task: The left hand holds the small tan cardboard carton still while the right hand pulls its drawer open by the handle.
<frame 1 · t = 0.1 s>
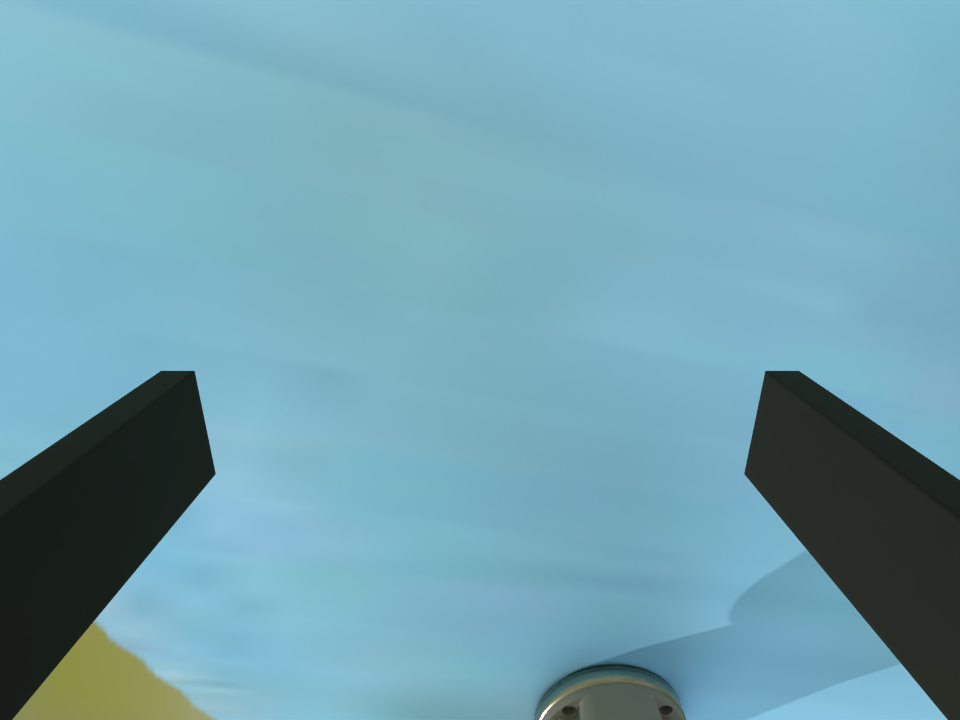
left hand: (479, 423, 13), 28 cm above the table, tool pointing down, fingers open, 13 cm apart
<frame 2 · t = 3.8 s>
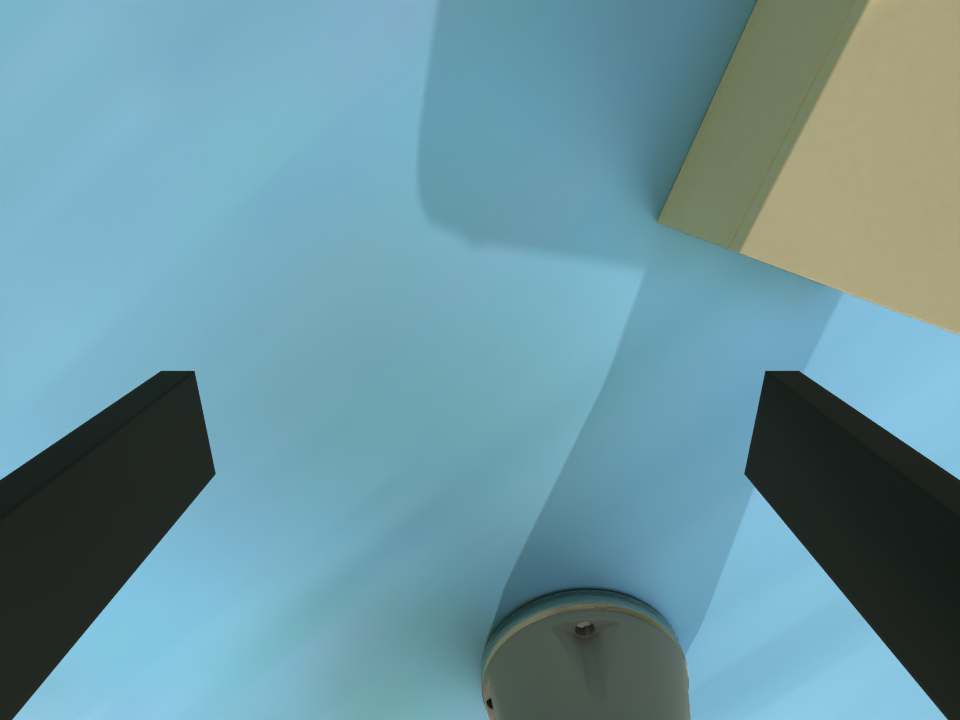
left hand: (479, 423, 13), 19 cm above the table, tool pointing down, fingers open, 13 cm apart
tan cardboard carton: (843, 65, 27), on the table
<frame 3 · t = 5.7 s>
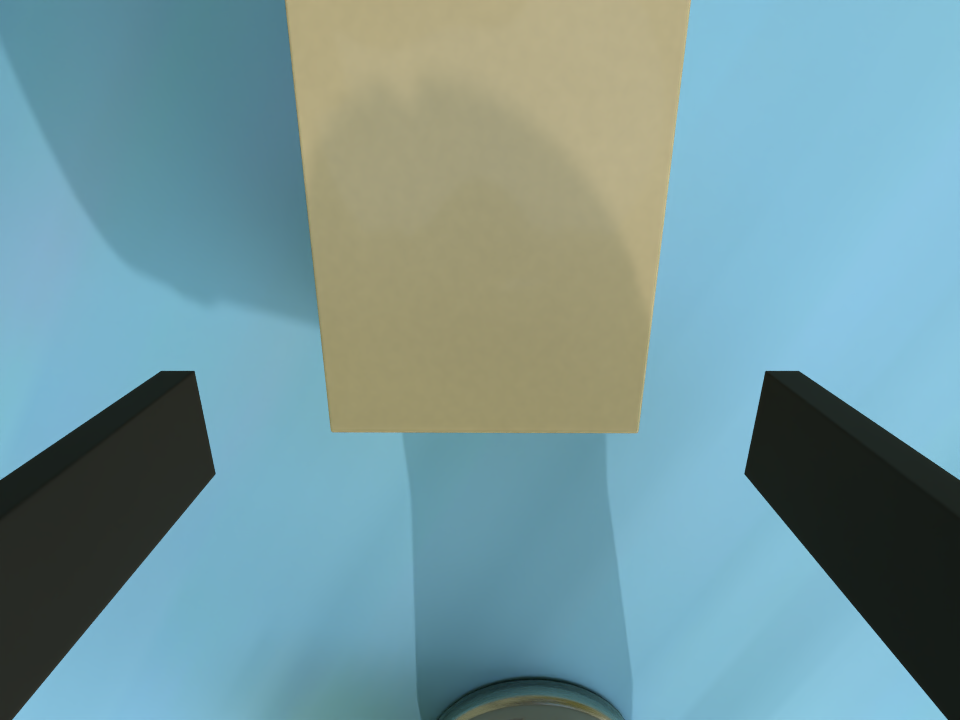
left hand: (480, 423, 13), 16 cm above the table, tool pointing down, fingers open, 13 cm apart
tan cardboard carton: (484, 137, 25), on the table
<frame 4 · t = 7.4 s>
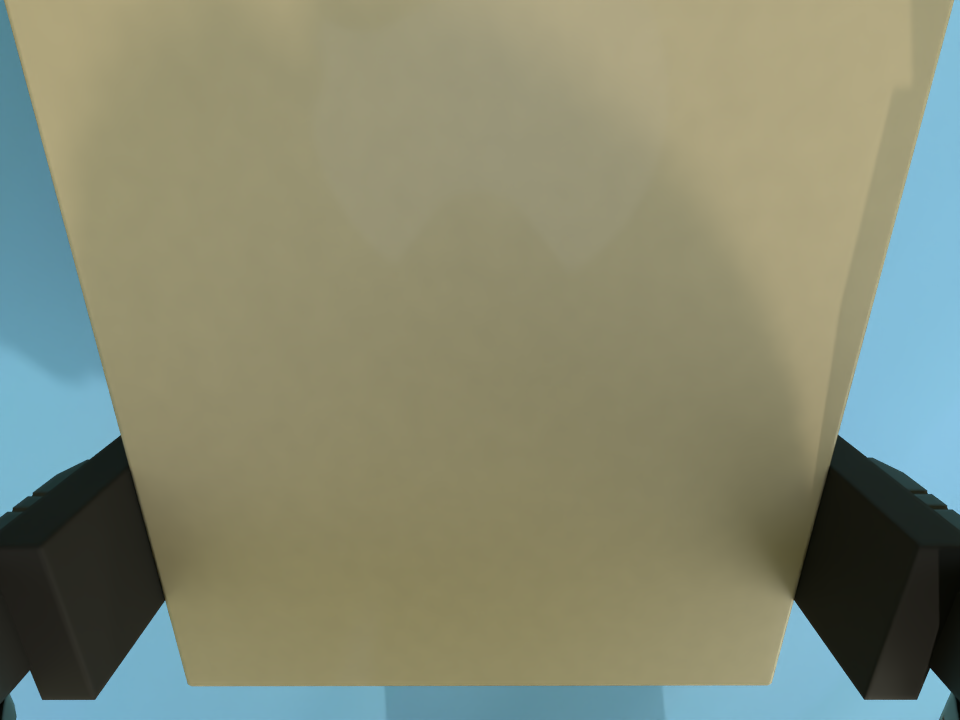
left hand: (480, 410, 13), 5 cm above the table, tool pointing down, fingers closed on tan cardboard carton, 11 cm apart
tan cardboard carton: (479, 129, 16), on the table, touching left hand
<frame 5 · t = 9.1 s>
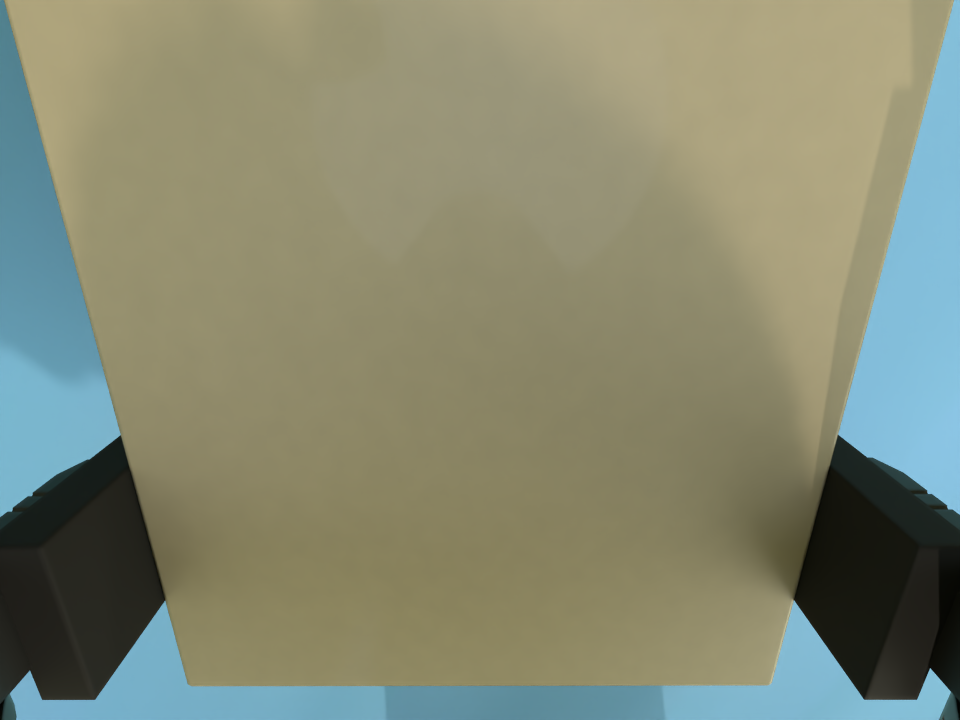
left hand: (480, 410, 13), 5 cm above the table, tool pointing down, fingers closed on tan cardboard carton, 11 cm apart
tan cardboard carton: (479, 129, 16), on the table, touching left hand
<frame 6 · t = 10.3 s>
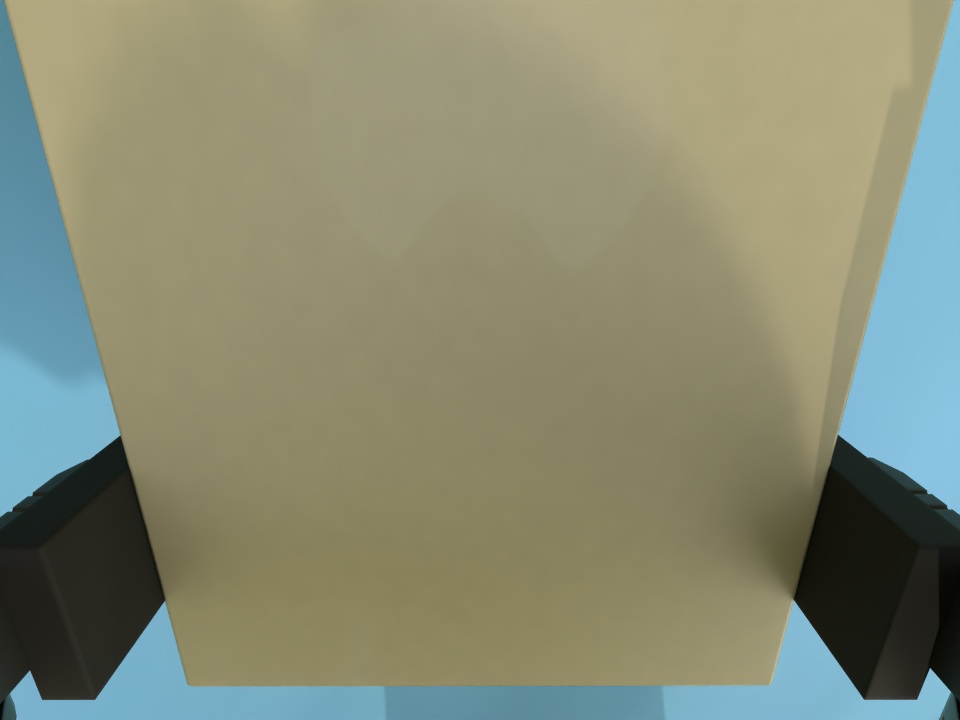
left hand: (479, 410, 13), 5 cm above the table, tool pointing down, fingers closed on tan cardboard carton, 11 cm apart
tan cardboard carton: (479, 129, 16), on the table, touching left hand
when the left hand's fingers open (5 cm above the table, at t = 12.2 s): tan cardboard carton stays where it is, on the table.
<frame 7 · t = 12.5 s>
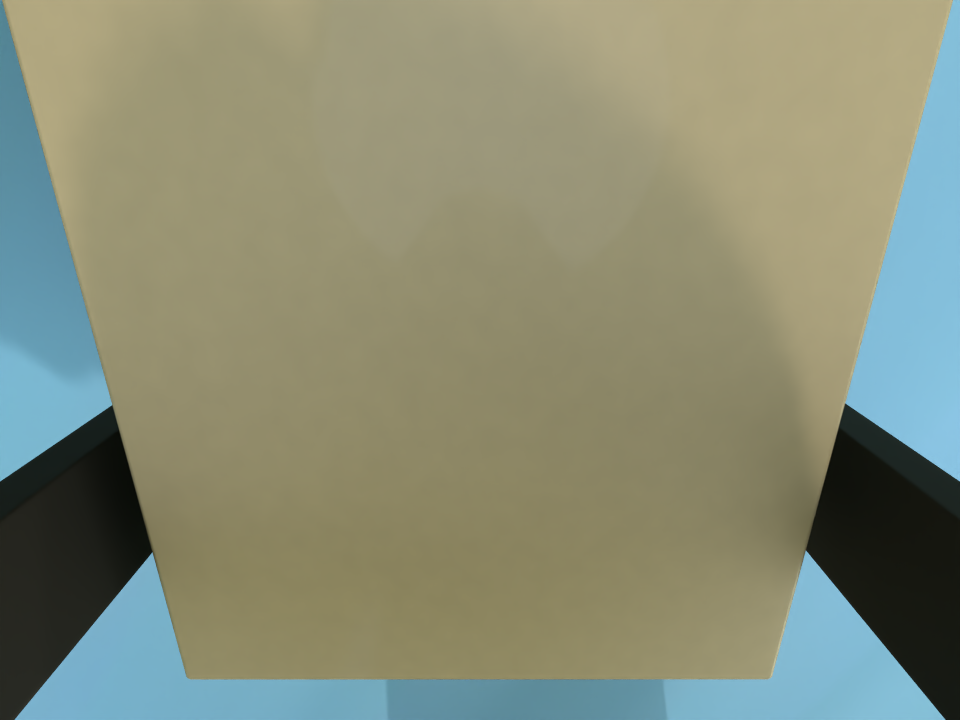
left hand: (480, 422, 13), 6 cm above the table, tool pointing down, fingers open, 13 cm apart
tan cardboard carton: (479, 123, 16), on the table
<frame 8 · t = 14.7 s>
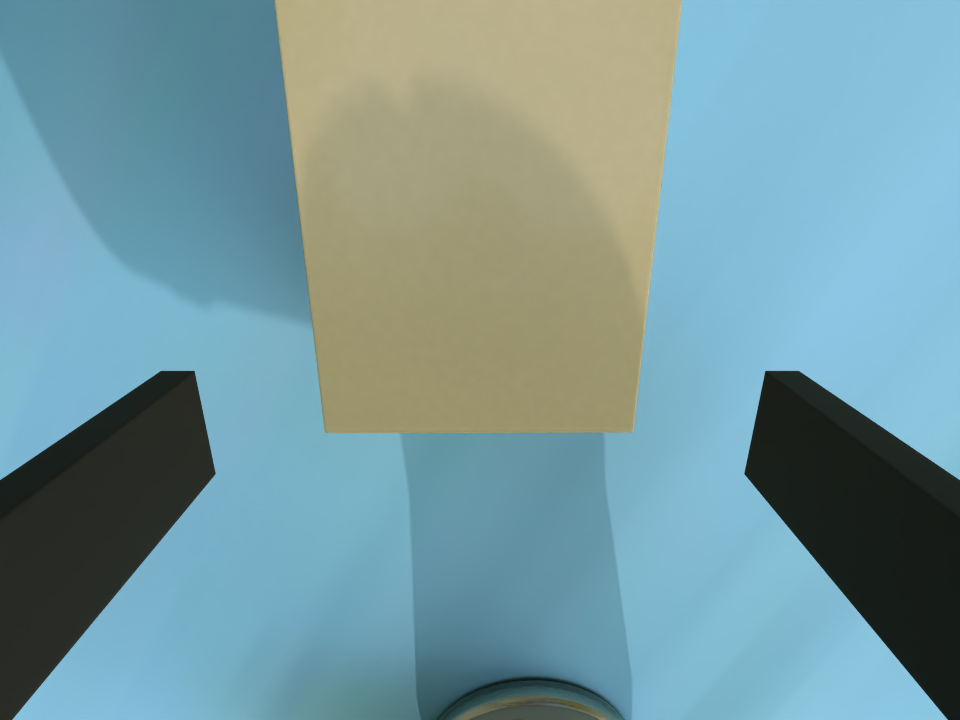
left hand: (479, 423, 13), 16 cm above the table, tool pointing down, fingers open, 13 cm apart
tan cardboard carton: (479, 136, 25), on the table
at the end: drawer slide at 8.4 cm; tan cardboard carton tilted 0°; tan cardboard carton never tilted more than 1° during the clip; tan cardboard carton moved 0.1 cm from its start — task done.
